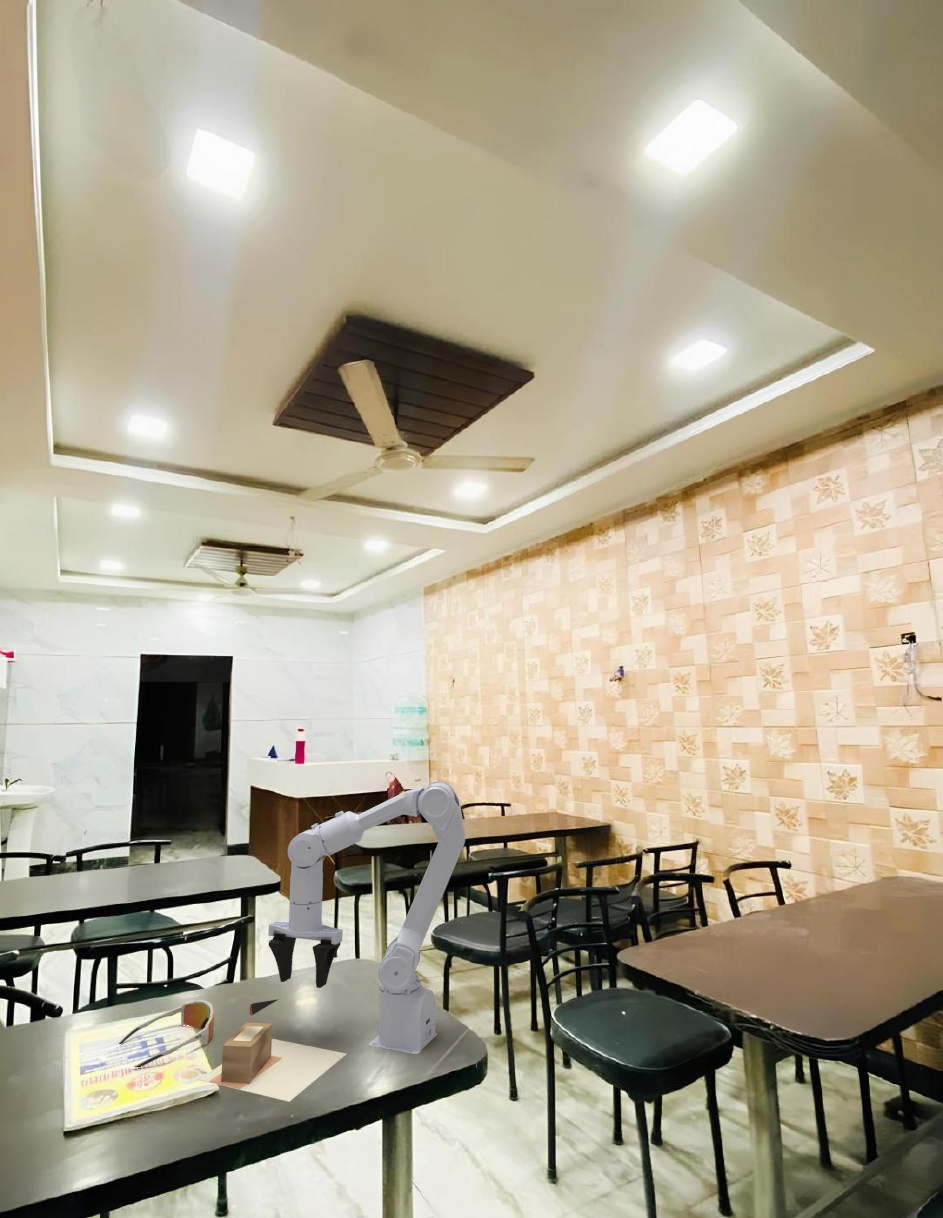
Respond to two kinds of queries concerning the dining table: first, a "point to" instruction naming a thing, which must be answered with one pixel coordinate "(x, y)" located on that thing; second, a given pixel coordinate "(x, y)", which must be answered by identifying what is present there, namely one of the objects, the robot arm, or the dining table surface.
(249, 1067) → the card box
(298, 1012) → the dining table surface
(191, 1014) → the sunglasses
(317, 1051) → the mat
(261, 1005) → the smartphone
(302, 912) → the robot arm
